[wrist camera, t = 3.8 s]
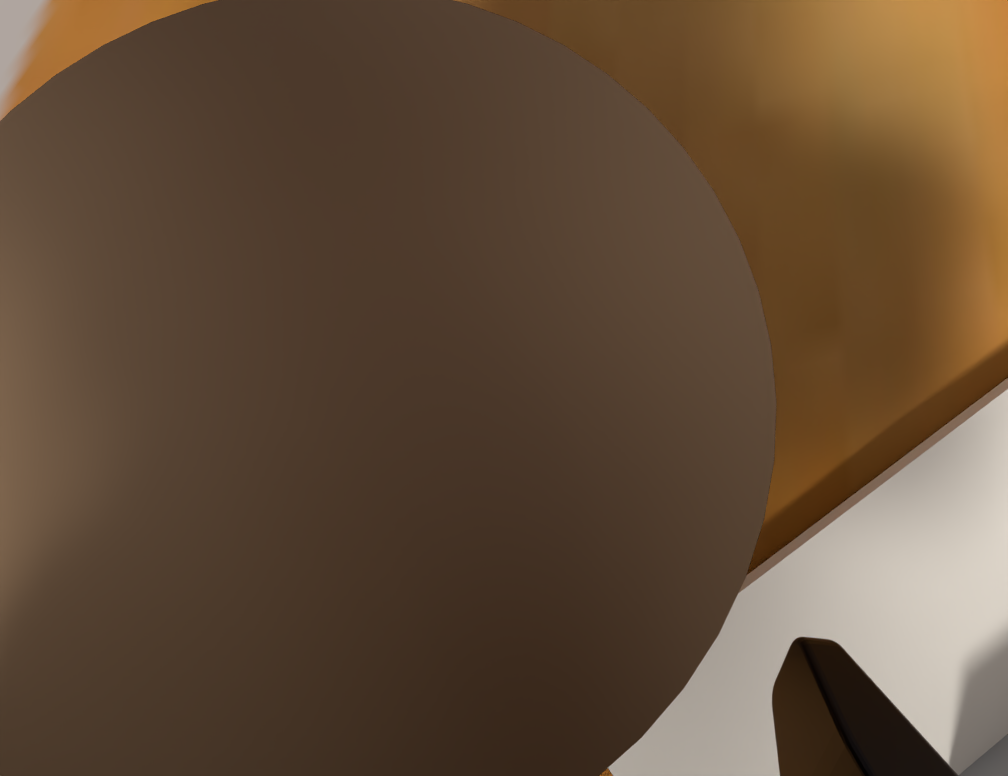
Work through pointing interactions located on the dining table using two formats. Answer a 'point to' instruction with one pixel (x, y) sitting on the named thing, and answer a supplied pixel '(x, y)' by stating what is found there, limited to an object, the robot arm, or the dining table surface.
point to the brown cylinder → (362, 402)
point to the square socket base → (871, 614)
